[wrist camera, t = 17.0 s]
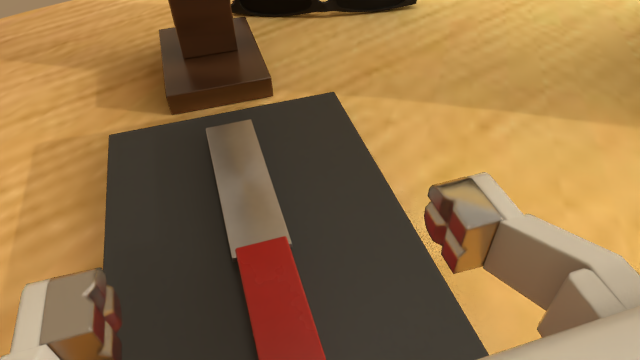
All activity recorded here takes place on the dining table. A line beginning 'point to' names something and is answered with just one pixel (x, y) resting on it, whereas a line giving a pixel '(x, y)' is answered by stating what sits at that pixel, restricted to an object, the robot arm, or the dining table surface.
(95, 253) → the dining table surface
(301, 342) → the knife
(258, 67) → the wooden post stand
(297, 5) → the sunglasses
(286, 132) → the cutting board
